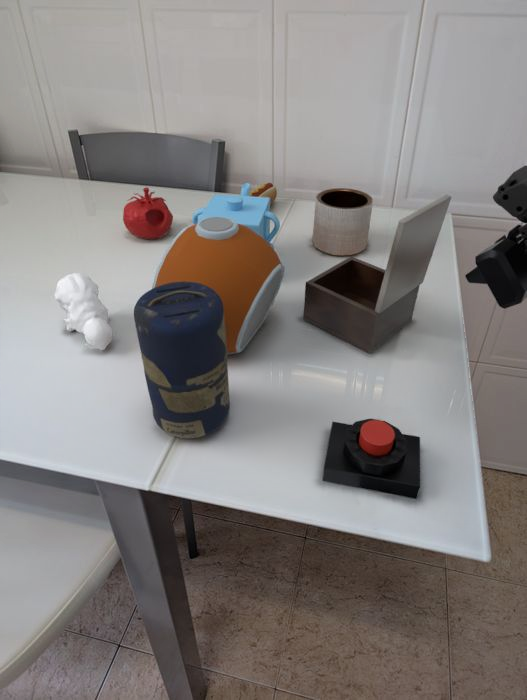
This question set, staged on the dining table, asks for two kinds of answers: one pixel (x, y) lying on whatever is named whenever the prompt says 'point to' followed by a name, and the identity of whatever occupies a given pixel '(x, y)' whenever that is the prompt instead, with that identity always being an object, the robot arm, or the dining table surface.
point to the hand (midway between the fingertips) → (467, 278)
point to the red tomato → (147, 216)
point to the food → (265, 192)
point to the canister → (184, 357)
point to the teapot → (242, 212)
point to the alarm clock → (227, 272)
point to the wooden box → (355, 304)
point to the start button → (376, 437)
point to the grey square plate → (411, 252)
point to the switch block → (373, 462)
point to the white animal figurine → (84, 309)
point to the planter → (342, 221)
